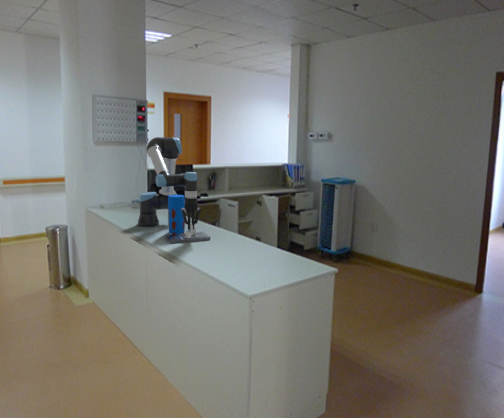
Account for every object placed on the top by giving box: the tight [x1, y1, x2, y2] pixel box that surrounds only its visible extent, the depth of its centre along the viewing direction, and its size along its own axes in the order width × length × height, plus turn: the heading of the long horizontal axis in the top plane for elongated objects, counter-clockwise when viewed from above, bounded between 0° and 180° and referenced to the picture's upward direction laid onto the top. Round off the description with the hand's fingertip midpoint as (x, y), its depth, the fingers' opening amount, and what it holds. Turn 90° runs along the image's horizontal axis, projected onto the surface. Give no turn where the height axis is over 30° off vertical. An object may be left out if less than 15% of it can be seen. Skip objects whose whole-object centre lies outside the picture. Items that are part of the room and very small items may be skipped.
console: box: [163, 231, 211, 244], centre depth 254 cm, size 15×26×2 cm, turn 115°
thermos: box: [167, 194, 186, 235], centre depth 269 cm, size 11×11×25 cm
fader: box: [184, 229, 191, 238], centre depth 249 cm, size 4×2×4 cm, turn 25°
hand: (191, 234), depth 250 cm, fingers closed
